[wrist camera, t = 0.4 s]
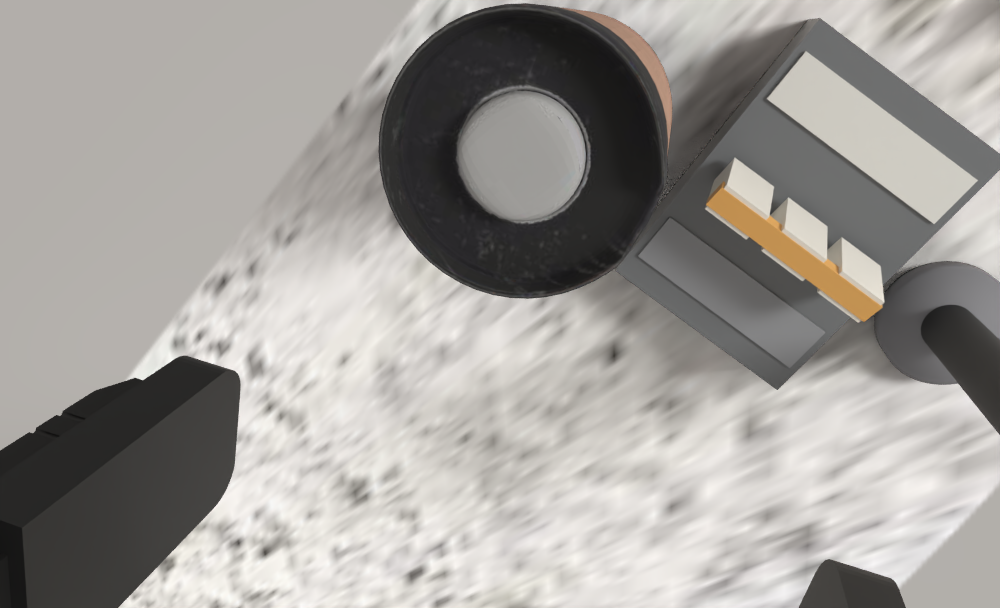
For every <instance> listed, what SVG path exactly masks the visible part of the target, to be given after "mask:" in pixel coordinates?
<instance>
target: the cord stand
mask: <svg viewBox="0 0 1000 608" xmlns="http://www.w3.org/2000/svg"><path fill="white" fill-rule="evenodd" d="M882 306H883V308H881V309H880V310H879V311H878V312H876V313H875V320H874V327H875V334H876V337H877V340H878V342H879V345H880V346H881V348H882V350H883V351H884V353H885V354H886V356H887V357H888V359H889V360H890V362H891V363H892V364H893V365H894V366H895V367H896V368H897V369H898V370H899V371H901V372H902V373H904V374H905V375H907V376H909V377H911V378H913V379H915V380H918V381H921V382H925V383H930V384H939V385H947V384H957V383H958V384H959V385H960V386H961V387H962V389H963V390H964V391H965V392H966V394H967V395H968V396H969V397H970V399H971V400H972V401H973V402H974V403H975V405H976V406H977V407H978V408H979V410H980V411H981V412H982V413H983V415H984V416H985V417H986V418H987V420H988V421H989V422H990V423H991V425H992V426H993V427H994V428H995V429H996V431H997V432H998V433H999V434H1000V282H999V281H997V280H996V279H995V278H994V277H992V276H991V275H990V274H988V273H987V272H985V271H984V270H982V269H980V268H978V267H975V266H973V265H970V264H966V263H961V262H952V261H945V262H935V263H930V264H926V265H922V266H920V267H917V268H915V269H913V270H911V271H909V272H907V273H905V274H904V275H902V276H901V277H899V278H898V279H897V280H896V281H895V282H894V283H892V284H891V286H890V287H889V288H888V289H887V290H886V292H885V293H884V303H883V304H882Z"/></svg>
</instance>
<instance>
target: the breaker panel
mask: <svg viewBox="0 0 1000 608" xmlns="http://www.w3.org/2000/svg"><path fill="white" fill-rule="evenodd" d="M734 158H736V159H738V160H739V161H740V162H742V163H743V164H744V165H746V166H747V167H748V168H750V169H751V170H752V171H754V172H755V173H756V174H758V175H759V176H760V177H762V178H763V179H764V180H766V181H767V182H768V183H770V184H771V185H773V186H774V190H773V197H772V203H771V209H770V215H771V214H772V213H773V212H774V211H775V210H776V209H777V208H778V207H779V206H780V205H781V204H782V203H783V202H784V201H785V200H786V199H787V198H788V197H789V198H790V199H791V200H793V201H794V202H795V203H797V204H798V205H799V206H801V207H802V208H803V209H805V210H806V211H807V212H809V213H810V214H811V215H813V216H814V217H815V218H817V219H818V220H819V221H821V222H822V223H824V224H825V225H826V226H828V227H827V250H828V249H829V248H830V247H831V246H832V245H833V244H835V243H836V242H837V241H838V240H839V239H840V238H841V237H842V238H844V239H845V240H846V241H848V242H849V243H850V244H852V245H853V246H854V247H856V248H857V249H858V250H860V251H861V252H862V253H864V254H865V255H866V256H868V257H869V258H870V259H872V260H873V261H875V262H876V263H877V264H879V265H880V266H881V274H882V284H883V285H884V284H885V283H886V282H887V281H888V280H889V279H890V278H891V277H892V276H893V275H894V274H895V273H896V272H897V271H898V270H899V269H900V268H901V267H902V266H903V265H904V264H905V263H906V262H907V261H908V260H909V259H910V258H911V257H912V256H913V255H914V254H915V253H916V252H917V251H918V250H919V249H920V248H921V247H922V246H923V245H924V244H925V243H926V242H927V241H928V240H929V239H930V238H931V237H932V236H933V235H934V234H935V233H936V232H937V231H938V230H939V229H940V228H942V227H943V226H944V225H945V224H946V223H947V222H948V221H949V220H950V219H951V218H952V217H953V216H954V215H955V214H956V213H957V212H958V211H959V210H960V209H961V208H962V207H963V206H964V205H965V204H966V203H967V202H968V201H969V200H970V199H971V198H972V197H973V196H974V195H975V194H976V193H977V192H978V191H979V190H980V189H981V188H982V187H983V186H984V185H985V184H986V183H987V182H988V181H989V180H990V179H991V178H992V177H993V176H994V175H995V174H996V173H997V172H998V171H999V170H1000V154H999V153H998V152H997V151H995V150H994V149H993V148H991V147H990V146H989V145H987V144H986V143H985V142H983V141H982V140H981V139H979V138H978V137H977V136H975V135H974V134H973V133H971V132H970V131H969V130H968V129H966V128H965V127H964V126H962V125H961V124H960V123H958V122H957V121H956V120H954V119H953V118H952V117H950V116H949V115H948V114H946V113H945V112H944V111H942V110H941V109H940V108H938V107H937V106H936V105H934V104H933V103H932V102H930V101H929V100H928V99H926V98H925V97H924V96H922V95H921V94H920V93H918V92H917V91H916V90H914V89H913V88H912V87H910V86H909V85H908V84H907V83H905V82H904V81H903V80H901V79H900V78H899V77H897V76H896V75H895V74H893V73H892V72H891V71H889V70H888V69H887V68H885V67H884V66H883V65H881V64H880V63H879V62H877V61H876V60H875V59H873V58H872V57H871V56H869V55H868V54H867V53H865V52H864V51H863V50H861V49H860V48H859V47H857V46H856V45H855V44H853V43H852V42H851V41H849V40H848V39H847V38H846V37H844V36H843V35H842V34H840V33H839V32H838V31H836V30H835V29H834V28H832V27H831V26H830V25H828V24H827V23H826V22H824V21H823V20H822V19H820V18H818V19H808V20H807V22H806V23H805V24H804V25H803V27H802V28H801V29H800V30H799V32H798V33H797V34H796V35H795V36H794V38H793V39H792V40H791V41H790V43H789V44H788V45H787V46H786V48H785V49H784V50H783V51H782V53H781V54H780V55H779V56H778V58H777V59H776V60H775V61H774V63H773V64H772V65H771V66H770V68H769V69H768V70H767V71H766V73H765V74H764V75H763V76H762V77H761V79H760V80H759V81H758V82H757V84H756V85H755V86H754V87H753V89H752V90H751V91H750V92H749V94H748V95H747V96H746V97H745V99H744V100H743V101H742V102H741V104H740V105H739V106H738V107H737V109H736V110H735V111H734V112H733V113H732V115H731V116H730V117H729V118H728V120H727V121H726V122H725V123H724V125H723V126H722V127H721V128H720V130H719V131H718V132H717V133H716V135H715V136H714V137H713V138H712V140H711V141H710V142H709V143H708V145H707V146H706V147H705V148H704V149H703V151H702V152H701V153H700V154H699V156H698V157H697V158H696V159H695V161H694V162H693V163H692V164H691V166H690V167H689V168H688V169H687V171H686V172H685V173H684V174H683V176H682V177H681V178H680V179H679V181H678V182H677V183H676V184H675V186H674V187H673V188H672V189H671V190H670V192H669V193H668V194H667V195H666V197H665V198H664V199H663V200H662V202H661V203H660V204H659V205H658V207H657V208H656V209H655V210H654V212H653V214H652V216H651V218H650V220H649V222H648V224H647V225H646V227H645V228H644V230H643V231H642V233H641V235H640V236H639V238H638V239H637V241H636V242H635V244H634V245H633V247H632V248H631V250H630V252H629V253H628V255H627V256H626V258H625V259H624V260H623V261H622V262H621V263H620V264H619V265H618V266H617V267H616V269H615V271H616V272H618V273H619V274H620V275H622V276H623V277H624V278H626V279H627V280H629V281H630V282H631V283H633V284H634V285H635V286H637V287H638V288H639V289H641V290H642V291H644V292H645V293H646V294H648V295H649V296H650V297H652V298H653V299H654V300H656V301H657V302H658V303H660V304H661V305H663V306H664V307H665V308H667V309H668V310H669V311H671V312H672V313H673V314H675V315H676V316H677V317H679V318H680V319H682V320H683V321H684V322H686V323H687V324H688V325H690V326H691V327H692V328H694V329H695V330H696V331H698V332H699V333H701V334H702V335H703V336H705V337H706V338H707V339H709V340H710V341H711V342H713V343H714V344H715V345H717V346H718V347H720V348H721V349H722V350H724V351H725V352H726V353H728V354H729V355H730V356H732V357H733V358H734V359H736V360H737V361H739V362H740V363H741V364H743V365H744V366H745V367H747V368H748V369H749V370H751V371H752V372H754V373H755V374H756V375H758V376H759V377H760V378H762V379H763V380H764V381H766V382H767V383H768V384H770V385H771V386H773V387H774V388H775V389H777V390H778V389H779V388H780V387H781V386H782V385H783V384H784V383H785V382H786V381H787V380H788V379H789V378H790V377H791V376H792V375H793V374H794V373H795V372H796V371H797V370H798V369H799V368H800V367H801V366H802V365H803V364H804V363H805V362H806V361H807V360H808V359H809V358H810V357H811V356H812V355H813V354H814V353H815V352H816V351H817V350H818V349H819V348H820V347H821V346H822V345H823V344H824V343H825V342H826V341H827V340H828V339H829V338H830V337H831V336H832V335H834V334H835V333H836V332H837V331H838V330H839V329H840V328H841V327H842V326H843V325H844V324H845V323H846V322H847V321H848V320H849V319H850V318H851V317H850V316H848V315H847V314H846V313H844V312H843V311H842V310H840V309H839V308H838V307H836V306H835V305H834V304H832V303H831V302H830V301H828V300H827V299H825V298H824V297H823V296H821V295H820V294H819V293H817V291H818V288H817V287H816V286H815V285H813V284H812V283H811V282H809V281H808V280H807V279H805V280H804V281H801V280H800V279H799V278H797V277H796V276H794V275H793V274H792V273H790V272H789V271H788V270H786V269H785V268H784V267H782V266H781V265H780V264H778V263H777V262H776V261H774V260H773V259H772V258H770V257H769V256H768V255H766V254H765V253H763V252H762V251H761V250H762V246H761V245H759V244H758V243H757V242H755V241H754V240H753V239H751V238H750V237H749V238H748V239H747V240H746V239H745V238H743V237H742V236H741V235H739V234H738V233H737V232H735V231H734V230H732V229H731V228H730V227H728V226H727V225H726V224H724V223H723V222H722V221H720V220H719V219H718V218H716V217H715V216H714V215H712V214H711V213H710V212H708V211H707V210H706V209H705V207H706V203H707V200H708V198H709V195H710V192H711V189H712V186H713V182H714V180H715V179H716V178H717V177H718V175H719V174H720V173H721V172H722V171H723V170H724V169H725V168H726V167H727V165H728V164H729V163H730V162H731V161H732V160H733V159H734Z"/></svg>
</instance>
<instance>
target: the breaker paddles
mask: <svg viewBox="0 0 1000 608" xmlns="http://www.w3.org/2000/svg"><path fill="white" fill-rule="evenodd" d="M773 190H774V186H773V185H771V184H770V183H768V182H767V181H766V180H764V179H763V178H762V177H760V176H759V175H758V174H756V173H755V172H754V171H752V170H751V169H750V168H748V167H747V166H746V165H744V164H743V163H742V162H740V161H739V160H738V159H736V158H734V159H733V160H732V161H731V162H730V163H729V164H728V165H727V167H726V168H725V169H724V170H723V171H722V172H721V173H720V174H719V175H718V177H717V178H716V179H715V180H714V182H713V186H712V189H711V192H710V195H709V198H708V200H707V203H706V207H705V209H706V210H707V211H708V212H710V213H711V214H712V215H714V216H715V217H716V218H718V219H719V220H720V221H722V222H723V223H724V224H726V225H727V226H728V227H730V228H731V229H732V230H734V231H735V232H737V233H738V234H739V235H741V236H742V237H743V238H745V239H746V240H747V239H748V238H749V237H750V238H751V239H753V240H754V241H755V242H757V243H758V244H759V245H761V246H762V250H761V251H762V252H763V253H765V254H766V255H768V256H769V257H770V258H772V259H773V260H774V261H776V262H777V263H778V264H780V265H781V266H782V267H784V268H785V269H786V270H788V271H789V272H790V273H792V274H793V275H794V276H796V277H797V278H799V279H800V280H801V281H804V280H805V279H807V280H808V281H809V282H811V283H812V284H813V285H815V286H816V287H817V288H818V291H817V293H819V294H820V295H821V296H823V297H824V298H825V299H827V300H828V301H830V302H831V303H832V304H834V305H835V306H836V307H838V308H839V309H840V310H842V311H843V312H844V313H846V314H847V315H848V316H850V317H851V318H852V319H854V320H855V321H856V322H858V323H859V322H860V321H863V322H865V321H866V320H867V319H869V318H870V317H871V316H872V315H874V314H875V313H876V312H878V311H879V310H880V309H881V308H883V306H882V304H883V303H884V293H883V284H882V274H881V266H880V265H879V264H877V263H876V262H875V261H873V260H872V259H870V258H869V257H868V256H866V255H865V254H864V253H862V252H861V251H860V250H858V249H857V248H856V247H854V246H853V245H852V244H850V243H849V242H848V241H846V240H845V239H844V238H842V237H841V238H840V239H839V240H838V241H837V242H836V243H835V244H833V245H832V246H831V247H830V248H829V249H828V250H827V227H828V226H826V225H825V224H824V223H822V222H821V221H819V220H818V219H817V218H815V217H814V216H813V215H811V214H810V213H809V212H807V211H806V210H805V209H803V208H802V207H801V206H799V205H798V204H797V203H795V202H794V201H793V200H791V199H790V198H789V197H788V198H787V199H786V200H785V201H784V202H783V203H782V204H781V205H780V206H779V207H778V208H777V209H776V210H775V211H774V212H773V213H772V214H771V215H770V209H771V203H772V197H773Z"/></svg>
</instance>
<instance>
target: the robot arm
mask: <svg viewBox="0 0 1000 608" xmlns="http://www.w3.org/2000/svg"><path fill="white" fill-rule="evenodd" d="M239 400H240V378H239V375H238V374H237V373H236V372H235V371H233V370H230V369H227V368H223V367H220V366H217V365H214V364H211V363H208V362H204V361H201V360H198V359H195V358H192V357H188V356H180V357H178V358H176V359H174V360H173V361H171V362H170V363H168V364H167V365H165V366H164V367H162V368H161V369H159V370H158V371H156V372H155V373H153V374H152V375H150V376H149V377H147V378H146V379H144V380H140V379H137V378H134V379H130V380H127V381H124V382H121V383H118V384H115V385H112V386H108V387H105V388H102V389H99V390H96V391H94V392H92V393H90V394H89V395H88V396H86V397H84V398H83V399H81V400H79V401H78V402H76V403H75V404H73V405H72V406H70V407H68V408H67V409H65V410H64V411H63V413H62V415H61V416H58V415H56V416H54V417H53V418H51V419H49V420H48V421H46V422H45V423H43V424H42V425H40V426H39V427H37V428H36V431H35V432H34V433H30V432H29V433H27V434H26V435H24V436H23V437H21V438H19V439H18V440H16V441H15V442H13V443H11V444H10V445H8V446H7V447H5V448H4V449H2V450H1V451H0V608H118V607H119V606H120V605H121V604H122V603H123V602H124V601H125V600H126V599H127V598H128V597H129V596H130V595H131V594H132V593H133V592H134V591H135V589H136V588H137V587H138V586H139V585H140V584H141V583H142V582H143V581H144V580H145V579H146V578H147V577H148V576H149V575H150V574H151V573H152V572H153V571H154V570H155V569H156V568H157V567H158V566H159V565H160V563H161V562H162V561H163V560H164V559H165V558H166V557H167V556H168V555H169V554H170V553H171V552H172V551H173V550H174V549H175V548H176V547H177V546H178V545H179V544H180V543H181V542H182V541H183V540H184V539H185V537H186V536H187V535H188V534H189V533H190V532H191V531H192V530H193V529H194V528H195V527H196V526H197V525H198V524H199V523H200V522H201V521H202V520H203V519H204V518H205V517H206V516H207V515H208V514H209V512H210V511H211V510H212V509H213V508H214V507H215V506H216V505H217V504H218V502H219V501H220V499H221V498H222V496H223V495H224V493H225V491H226V489H227V487H228V484H229V482H230V479H231V477H232V473H233V469H234V464H235V453H236V440H237V427H238V414H239ZM799 608H906V607H905V604H904V602H903V599H902V596H901V594H900V591H899V588H898V586H897V584H896V583H895V582H894V580H892V579H891V578H888V577H885V576H882V575H878V574H875V573H872V572H869V571H866V570H862V569H859V568H856V567H853V566H850V565H846V564H843V563H840V562H837V561H834V560H830V559H828V560H825V561H824V562H823V563H822V564H821V565H820V566H819V568H818V569H817V571H816V573H815V575H814V577H813V579H812V581H811V583H810V585H809V587H808V590H807V592H806V594H805V596H804V598H803V600H802V602H801V604H800V606H799Z"/></svg>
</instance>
